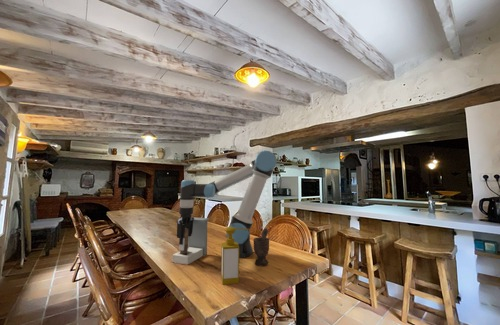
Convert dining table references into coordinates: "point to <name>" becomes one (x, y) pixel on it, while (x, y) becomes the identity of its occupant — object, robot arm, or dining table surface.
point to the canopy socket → (194, 243)
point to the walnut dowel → (185, 242)
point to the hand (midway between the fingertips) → (184, 249)
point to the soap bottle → (230, 258)
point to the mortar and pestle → (261, 248)
